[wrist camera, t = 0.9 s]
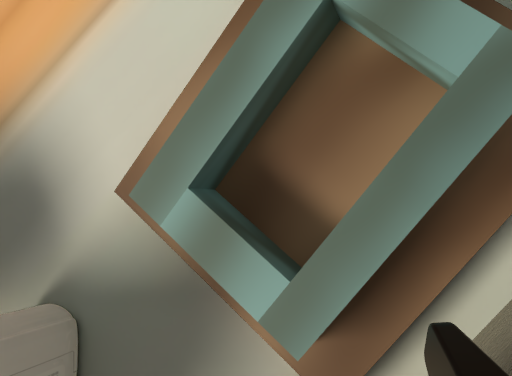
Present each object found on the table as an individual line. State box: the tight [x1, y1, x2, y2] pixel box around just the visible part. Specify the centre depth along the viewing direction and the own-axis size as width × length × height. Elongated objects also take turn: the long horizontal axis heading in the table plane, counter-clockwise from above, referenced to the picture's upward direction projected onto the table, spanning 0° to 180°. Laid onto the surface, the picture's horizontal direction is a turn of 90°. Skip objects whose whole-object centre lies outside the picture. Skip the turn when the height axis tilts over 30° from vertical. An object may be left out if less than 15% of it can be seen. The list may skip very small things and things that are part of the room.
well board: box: [114, 0, 512, 376], centre depth 18 cm, size 14×16×4 cm
